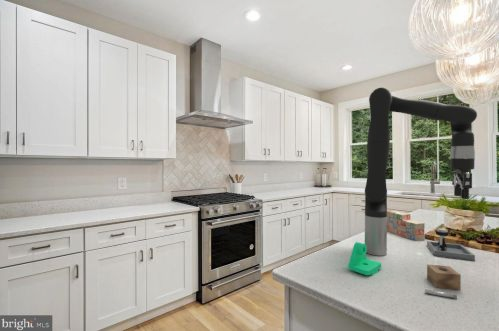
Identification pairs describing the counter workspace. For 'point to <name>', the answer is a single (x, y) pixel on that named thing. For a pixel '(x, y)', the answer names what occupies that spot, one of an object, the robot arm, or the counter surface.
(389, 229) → the stack of blocks
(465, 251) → the tray
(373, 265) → the camera mount
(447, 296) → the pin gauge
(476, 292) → the counter surface
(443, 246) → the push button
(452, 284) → the block
